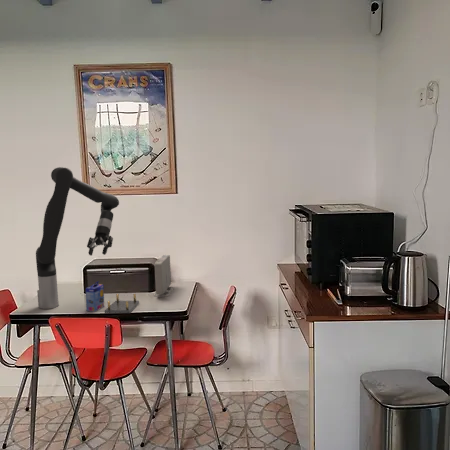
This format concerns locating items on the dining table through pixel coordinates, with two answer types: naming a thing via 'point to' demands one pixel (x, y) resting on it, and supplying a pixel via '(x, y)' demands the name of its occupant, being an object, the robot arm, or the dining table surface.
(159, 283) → the network device
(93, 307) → the ink cartridge box
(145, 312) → the dining table surface
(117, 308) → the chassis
